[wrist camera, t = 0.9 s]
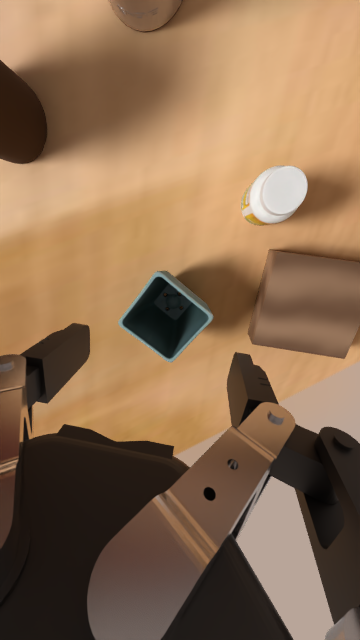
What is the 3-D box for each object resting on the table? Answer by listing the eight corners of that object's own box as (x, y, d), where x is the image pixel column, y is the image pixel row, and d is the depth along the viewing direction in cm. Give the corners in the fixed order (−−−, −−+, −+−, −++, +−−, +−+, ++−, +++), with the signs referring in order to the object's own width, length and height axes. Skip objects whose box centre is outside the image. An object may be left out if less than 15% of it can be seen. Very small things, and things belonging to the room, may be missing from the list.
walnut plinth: (269, 249, 31) (277, 251, 28) (364, 262, 31) (386, 266, 27) (247, 333, 36) (252, 344, 32) (330, 345, 35) (344, 358, 32)
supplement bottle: (234, 194, 29) (246, 175, 21) (274, 172, 28) (306, 142, 19) (248, 233, 31) (266, 232, 22) (287, 213, 30) (323, 204, 21)
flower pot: (213, 297, 35) (215, 317, 26) (178, 336, 38) (170, 364, 29) (169, 261, 33) (157, 269, 25) (136, 303, 36) (116, 323, 28)
